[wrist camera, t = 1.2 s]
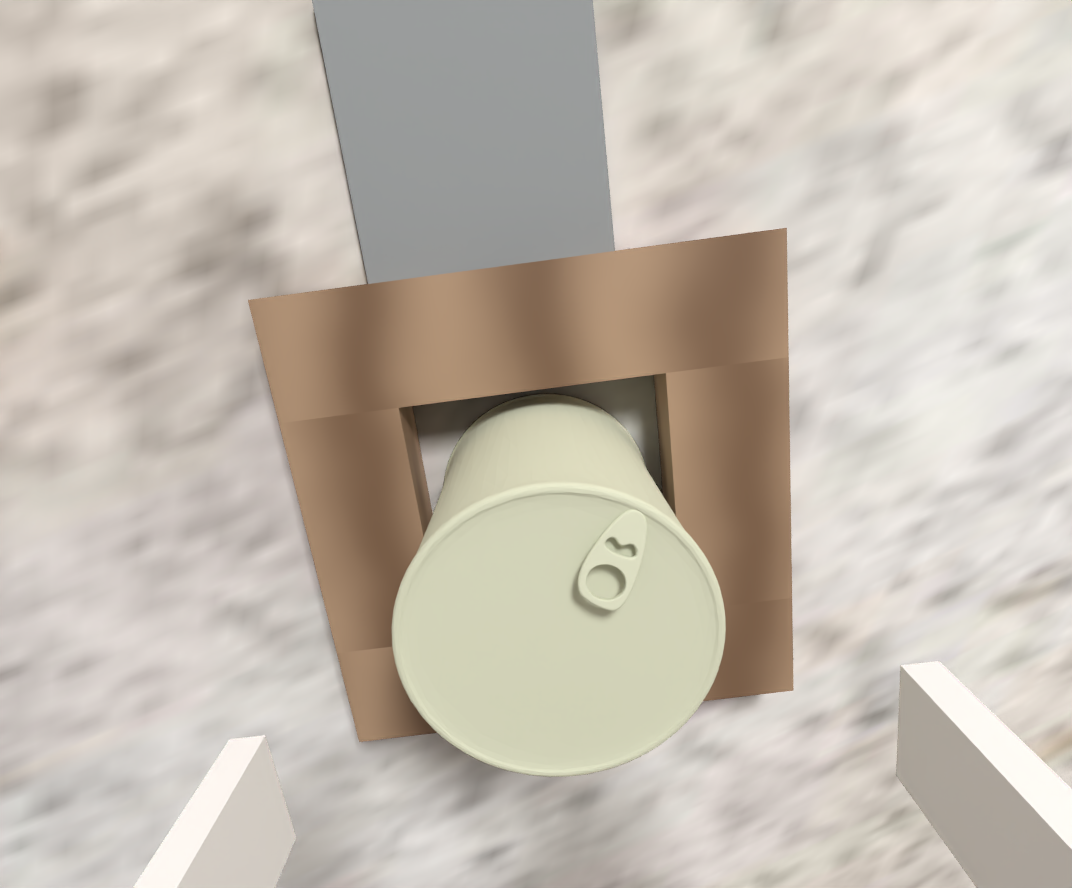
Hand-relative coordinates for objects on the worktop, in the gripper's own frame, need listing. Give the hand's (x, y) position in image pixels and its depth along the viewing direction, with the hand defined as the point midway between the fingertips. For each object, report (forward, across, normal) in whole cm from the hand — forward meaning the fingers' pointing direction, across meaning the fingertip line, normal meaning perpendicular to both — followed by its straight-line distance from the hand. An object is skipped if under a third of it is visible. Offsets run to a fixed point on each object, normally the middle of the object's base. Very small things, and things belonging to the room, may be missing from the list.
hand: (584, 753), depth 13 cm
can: (+16, 0, 0) cm, 16 cm away
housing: (+15, 0, 0) cm, 15 cm away
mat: (+15, -2, +15) cm, 22 cm away
